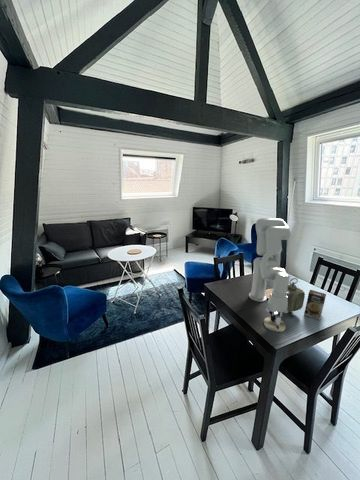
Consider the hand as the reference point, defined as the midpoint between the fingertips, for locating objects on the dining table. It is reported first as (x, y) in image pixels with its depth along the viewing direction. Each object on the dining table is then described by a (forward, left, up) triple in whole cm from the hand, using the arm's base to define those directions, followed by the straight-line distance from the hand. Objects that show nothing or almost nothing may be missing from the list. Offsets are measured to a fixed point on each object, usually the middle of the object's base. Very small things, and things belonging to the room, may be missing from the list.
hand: (275, 320), depth 124 cm
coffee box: (-13, +29, -3) cm, 32 cm away
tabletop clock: (-14, +14, -3) cm, 20 cm away
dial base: (0, 0, -3) cm, 3 cm away
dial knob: (+1, 0, -1) cm, 1 cm away
